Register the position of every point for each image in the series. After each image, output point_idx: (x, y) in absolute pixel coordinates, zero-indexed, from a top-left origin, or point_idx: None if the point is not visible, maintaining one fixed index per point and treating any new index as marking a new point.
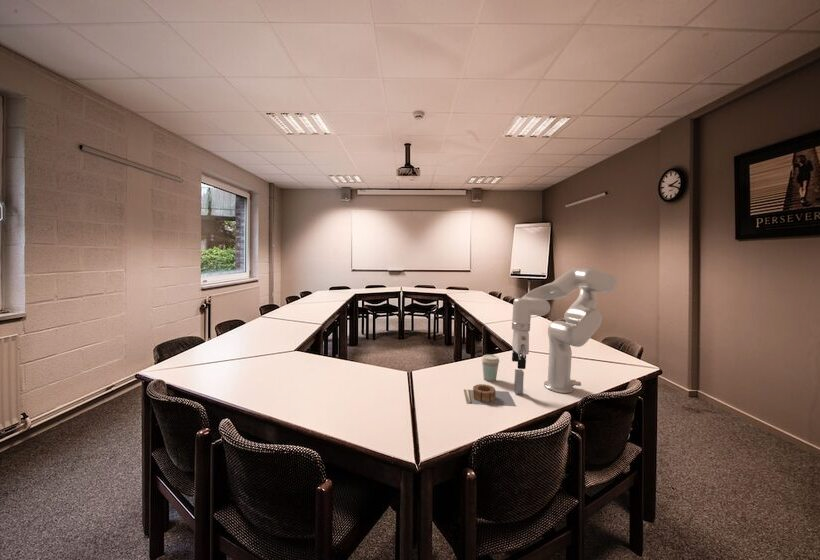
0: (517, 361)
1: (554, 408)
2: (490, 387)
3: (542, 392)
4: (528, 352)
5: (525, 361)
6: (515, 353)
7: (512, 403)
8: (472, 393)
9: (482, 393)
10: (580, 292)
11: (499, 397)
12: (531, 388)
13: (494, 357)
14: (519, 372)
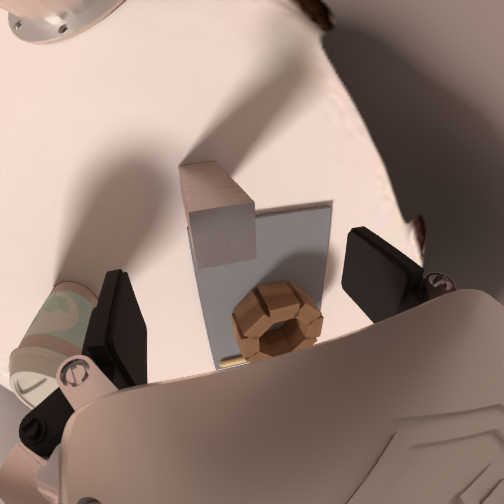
0: (131, 286)
1: (320, 51)
2: (270, 322)
3: (140, 51)
4: (496, 302)
5: (410, 263)
6: (138, 383)
7: (311, 219)
8: None
9: (319, 334)
10: None
11: (262, 266)
12: (94, 104)
13: (29, 379)
14: (255, 235)
